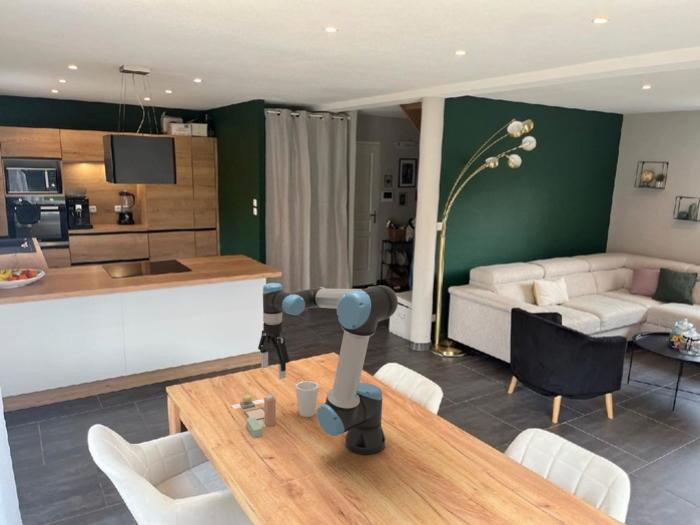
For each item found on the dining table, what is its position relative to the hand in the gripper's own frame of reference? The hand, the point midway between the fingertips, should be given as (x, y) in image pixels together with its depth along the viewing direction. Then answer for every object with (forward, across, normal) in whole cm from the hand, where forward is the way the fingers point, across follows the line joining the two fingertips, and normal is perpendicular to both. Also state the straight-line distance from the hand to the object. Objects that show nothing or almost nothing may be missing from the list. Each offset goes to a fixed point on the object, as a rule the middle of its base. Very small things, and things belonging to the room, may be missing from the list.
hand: (273, 372), depth 209 cm
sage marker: (+19, -6, +12) cm, 23 cm away
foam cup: (+20, -5, -13) cm, 25 cm away
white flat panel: (+20, +5, +4) cm, 21 cm away
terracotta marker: (+19, -4, +4) cm, 20 cm away
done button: (+17, +16, +4) cm, 23 cm away
